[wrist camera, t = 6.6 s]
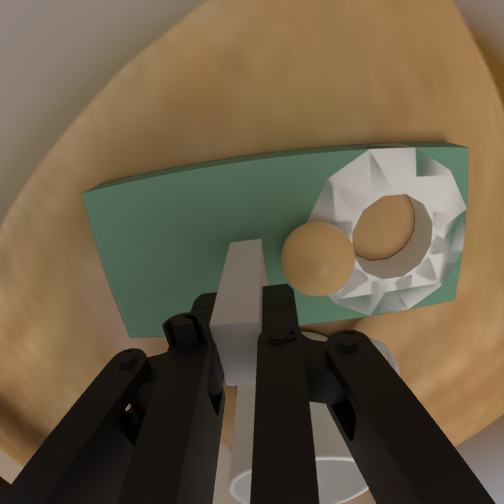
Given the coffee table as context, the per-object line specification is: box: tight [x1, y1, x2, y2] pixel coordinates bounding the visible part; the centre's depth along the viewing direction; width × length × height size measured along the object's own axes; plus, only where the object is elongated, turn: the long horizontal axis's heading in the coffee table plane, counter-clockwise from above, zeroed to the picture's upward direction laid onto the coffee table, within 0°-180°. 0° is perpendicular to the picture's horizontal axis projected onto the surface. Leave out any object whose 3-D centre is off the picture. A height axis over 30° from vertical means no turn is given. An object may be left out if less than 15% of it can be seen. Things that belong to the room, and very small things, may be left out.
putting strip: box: [82, 142, 468, 338], centre depth 18 cm, size 22×10×2 cm, turn 98°
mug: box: [228, 331, 400, 504], centre depth 18 cm, size 9×12×11 cm
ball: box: [281, 221, 355, 297], centre depth 15 cm, size 4×4×4 cm
